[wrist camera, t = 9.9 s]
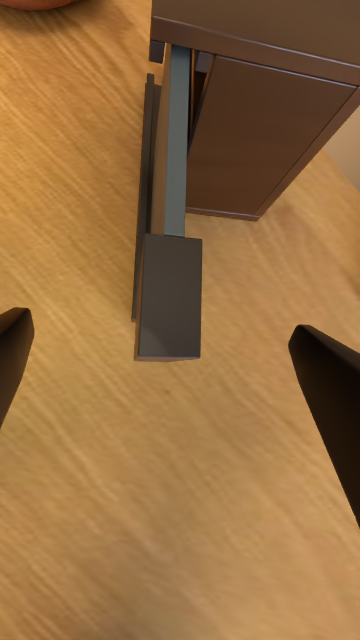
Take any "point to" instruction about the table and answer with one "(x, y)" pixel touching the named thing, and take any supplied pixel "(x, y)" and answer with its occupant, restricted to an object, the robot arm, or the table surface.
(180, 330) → the door
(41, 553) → the table surface
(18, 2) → the ceramic jug
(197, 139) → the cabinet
